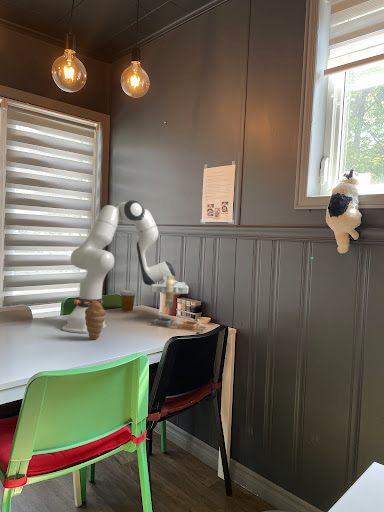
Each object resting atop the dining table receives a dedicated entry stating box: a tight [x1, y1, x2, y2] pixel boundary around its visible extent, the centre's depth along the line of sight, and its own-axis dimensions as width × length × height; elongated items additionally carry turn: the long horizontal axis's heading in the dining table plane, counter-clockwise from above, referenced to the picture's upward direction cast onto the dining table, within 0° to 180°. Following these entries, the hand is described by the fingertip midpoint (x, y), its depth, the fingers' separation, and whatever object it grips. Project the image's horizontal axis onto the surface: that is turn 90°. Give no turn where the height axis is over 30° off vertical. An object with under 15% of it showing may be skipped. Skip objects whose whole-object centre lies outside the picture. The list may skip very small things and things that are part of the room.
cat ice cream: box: [85, 300, 107, 340], centre depth 170 cm, size 9×8×18 cm
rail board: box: [147, 316, 207, 335], centre depth 198 cm, size 12×28×4 cm, turn 73°
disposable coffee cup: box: [119, 289, 137, 313], centre depth 234 cm, size 10×10×12 cm
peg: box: [164, 276, 174, 308], centre depth 199 cm, size 4×4×16 cm
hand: (169, 291), depth 198 cm, fingers closed on peg, 4 cm apart
